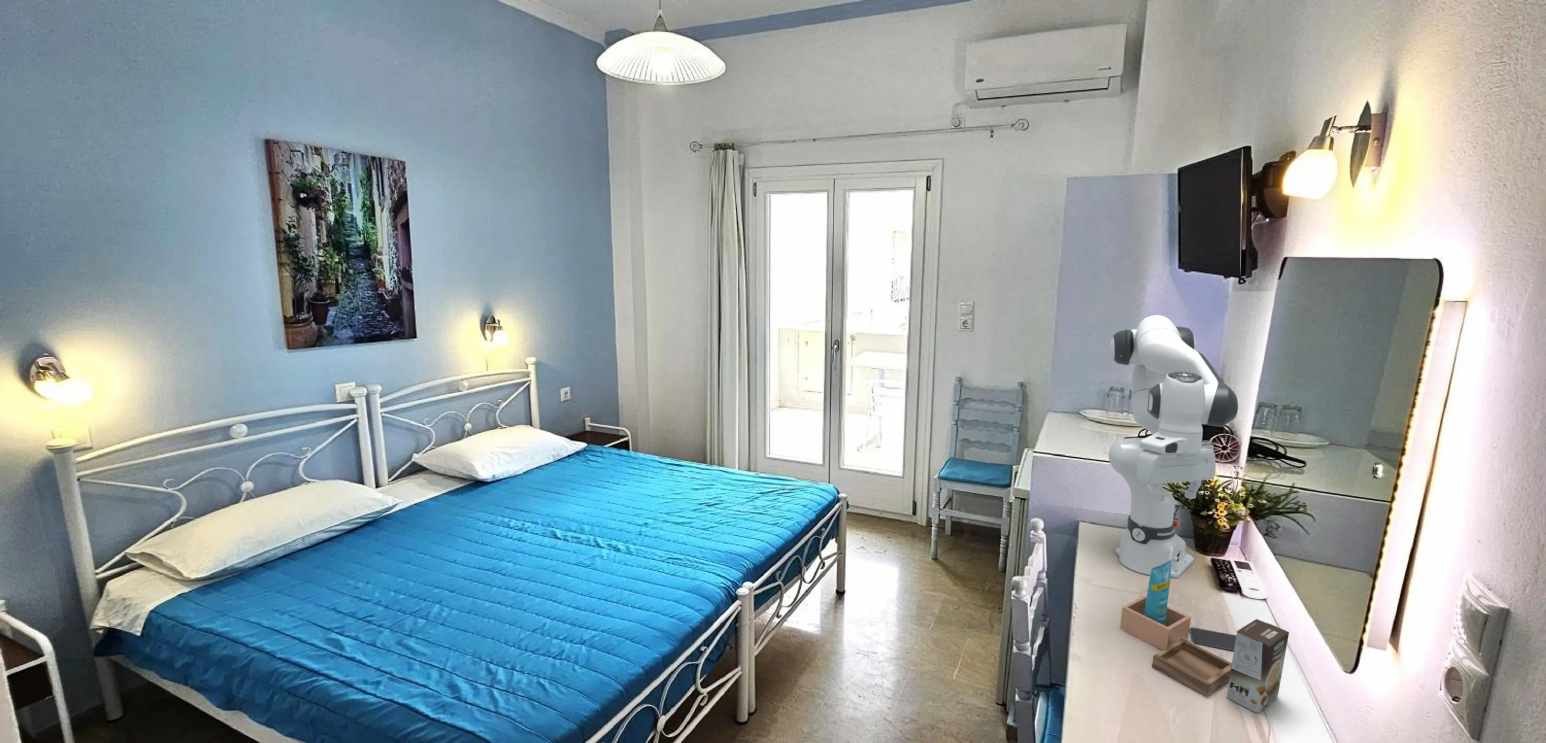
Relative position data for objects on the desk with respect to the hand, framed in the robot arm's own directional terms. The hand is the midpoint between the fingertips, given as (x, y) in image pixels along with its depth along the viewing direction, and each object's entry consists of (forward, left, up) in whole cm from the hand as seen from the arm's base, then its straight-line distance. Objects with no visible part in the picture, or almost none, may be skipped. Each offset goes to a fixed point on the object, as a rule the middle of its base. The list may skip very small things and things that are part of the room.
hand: (1174, 499), depth 159 cm
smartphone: (-11, +10, -37) cm, 40 cm away
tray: (+7, +12, -36) cm, 39 cm away
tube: (0, -1, -37) cm, 37 cm away
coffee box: (+5, +23, -37) cm, 43 cm away
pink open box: (0, -1, -36) cm, 36 cm away
